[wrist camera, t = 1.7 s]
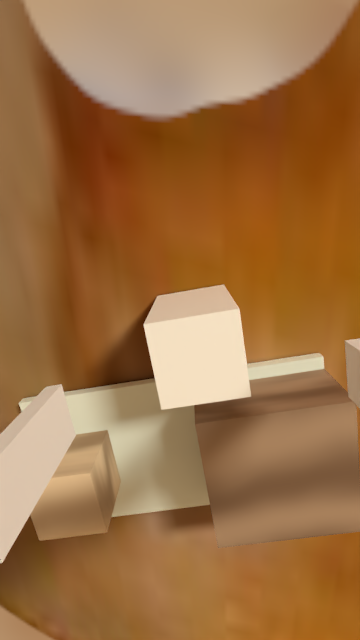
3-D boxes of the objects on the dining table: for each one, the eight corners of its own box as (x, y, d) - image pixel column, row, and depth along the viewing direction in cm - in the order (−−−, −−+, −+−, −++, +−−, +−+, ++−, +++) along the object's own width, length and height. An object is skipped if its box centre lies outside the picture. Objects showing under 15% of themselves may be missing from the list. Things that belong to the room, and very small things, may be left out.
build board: (23, 398, 28) (18, 403, 27) (319, 352, 26) (323, 356, 25) (61, 516, 31) (58, 523, 30) (329, 482, 29) (333, 489, 28)
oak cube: (48, 438, 28) (18, 482, 23) (107, 430, 27) (90, 472, 22) (64, 488, 29) (39, 540, 24) (121, 481, 28) (107, 532, 24)
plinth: (193, 388, 26) (195, 424, 21) (324, 368, 25) (355, 401, 21) (213, 494, 29) (218, 548, 24) (332, 479, 28) (362, 531, 23)
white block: (157, 295, 25) (143, 324, 17) (223, 284, 25) (239, 308, 17) (169, 357, 26) (161, 409, 19) (232, 347, 26) (251, 396, 18)
